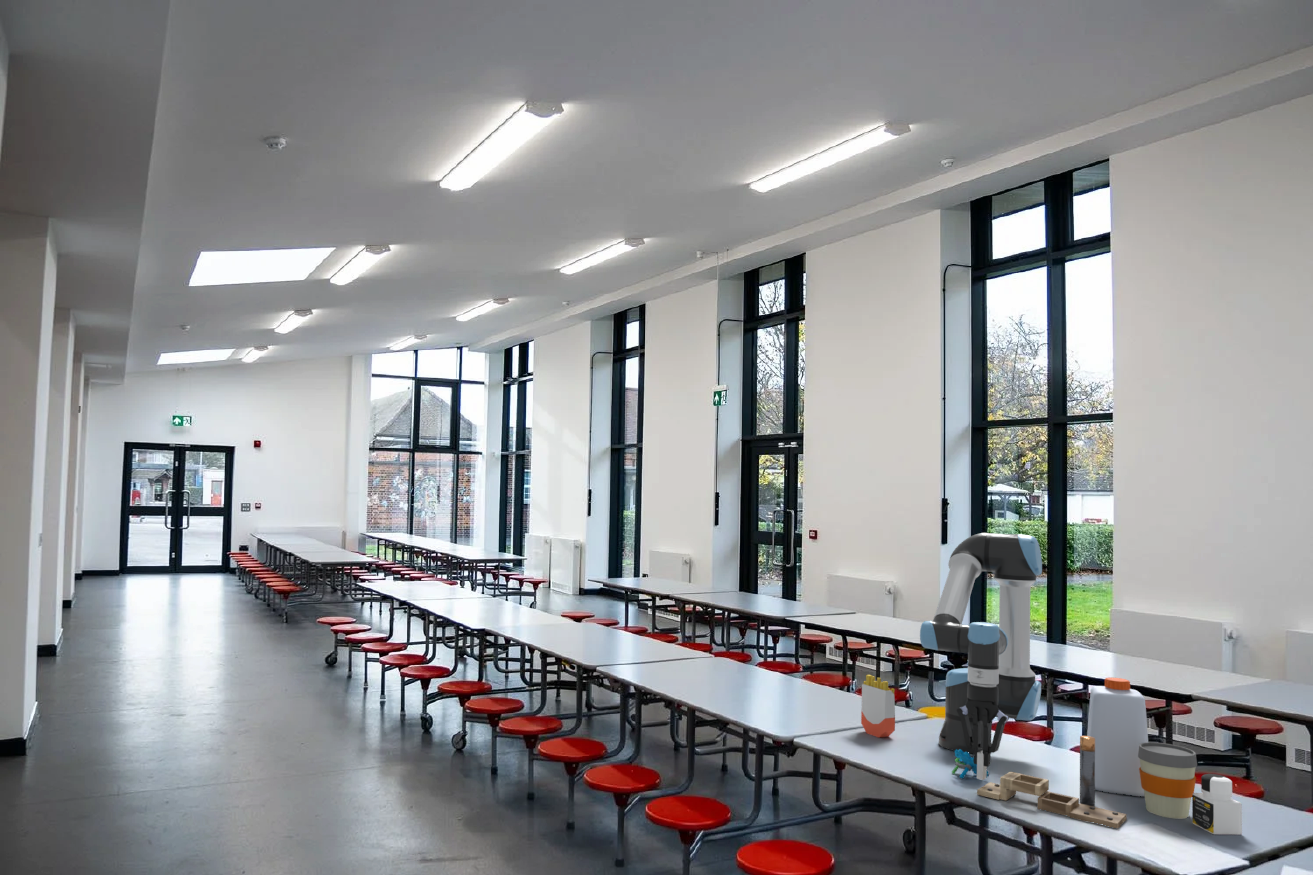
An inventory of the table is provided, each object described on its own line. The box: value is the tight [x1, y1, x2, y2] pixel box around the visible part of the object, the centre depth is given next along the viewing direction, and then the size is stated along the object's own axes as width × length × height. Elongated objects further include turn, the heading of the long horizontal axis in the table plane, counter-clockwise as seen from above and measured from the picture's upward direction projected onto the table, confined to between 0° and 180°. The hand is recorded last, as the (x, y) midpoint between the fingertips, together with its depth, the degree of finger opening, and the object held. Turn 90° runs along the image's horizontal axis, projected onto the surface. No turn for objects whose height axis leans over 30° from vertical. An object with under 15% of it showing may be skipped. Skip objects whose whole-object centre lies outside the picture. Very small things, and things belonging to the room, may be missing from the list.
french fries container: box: [860, 674, 896, 739], centre depth 283 cm, size 5×11×18 cm, turn 28°
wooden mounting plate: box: [1037, 790, 1128, 830], centre depth 214 cm, size 9×18×3 cm, turn 50°
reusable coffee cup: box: [1138, 741, 1198, 820], centre depth 218 cm, size 13×13×15 cm
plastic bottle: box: [1086, 677, 1149, 797], centre depth 238 cm, size 15×15×28 cm
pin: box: [1079, 735, 1096, 807], centre depth 222 cm, size 3×3×16 cm
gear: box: [951, 749, 990, 780], centre depth 240 cm, size 11×6×10 cm
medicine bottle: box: [1191, 773, 1243, 836], centre depth 207 cm, size 7×7×12 cm
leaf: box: [976, 771, 1050, 801], centre depth 224 cm, size 9×15×5 cm, turn 50°
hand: (981, 778), depth 229 cm, fingers closed
